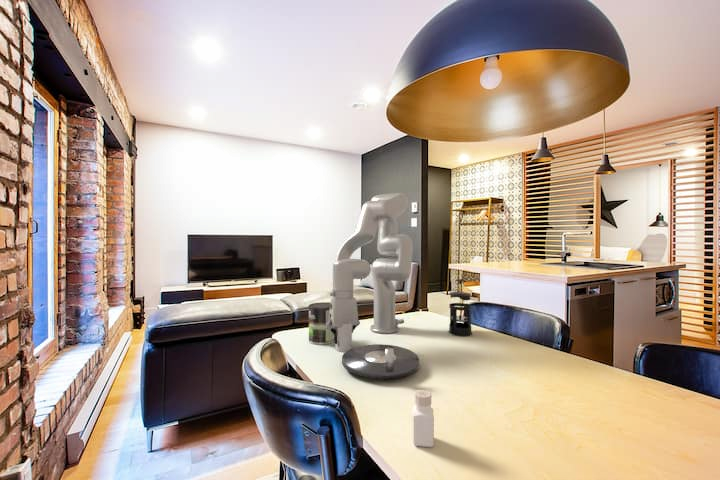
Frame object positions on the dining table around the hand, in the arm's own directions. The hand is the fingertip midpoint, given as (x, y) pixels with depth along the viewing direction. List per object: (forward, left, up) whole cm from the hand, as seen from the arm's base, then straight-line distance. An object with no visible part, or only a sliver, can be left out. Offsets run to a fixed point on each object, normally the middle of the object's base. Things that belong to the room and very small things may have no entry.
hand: (343, 344), depth 115 cm
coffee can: (+3, -13, -2) cm, 13 cm away
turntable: (-3, +20, -2) cm, 20 cm away
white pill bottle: (+10, +55, -2) cm, 56 cm away
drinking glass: (0, 0, -2) cm, 2 cm away
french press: (-53, +7, -2) cm, 54 cm away
